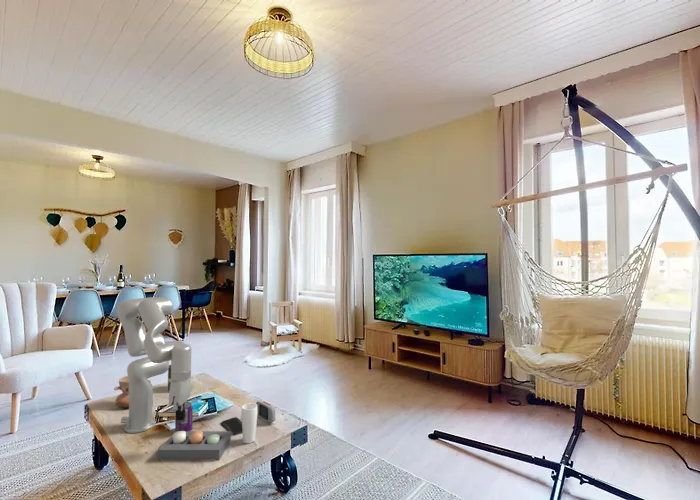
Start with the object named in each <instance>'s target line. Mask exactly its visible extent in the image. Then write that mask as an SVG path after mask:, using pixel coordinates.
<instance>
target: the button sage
mask: <svg viewBox="0 0 700 500" xmlns="http://www.w3.org/2000/svg"><path fill="white" fill-rule="evenodd" d="M219 440H220V436H219V435H218V434H213V435H210V436H208V437H207V444H218V443H219Z"/></svg>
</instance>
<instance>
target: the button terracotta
mask: <svg viewBox="0 0 700 500" xmlns="http://www.w3.org/2000/svg"><path fill="white" fill-rule="evenodd" d="M202 441H203V432H202V431H201V430H195V432H193V433H191V434H190V444H201V443H202Z"/></svg>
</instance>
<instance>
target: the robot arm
mask: <svg viewBox="0 0 700 500" xmlns="http://www.w3.org/2000/svg"><path fill="white" fill-rule="evenodd" d="M173 304H174V303H173V302H172V300H171V299H169V298H168V297H165V296H164V297H162V296H161V297H160V296H153V297H151V296H150V297H143V298H130V299H126V300H124V301H122V302H121V303H119V305H118V307H117V316H118V317H117V318H118V319H119V322H120V324H121V326H122V329H123V332H124V337H125V338H124V339H125V344H126V348H127V353H128V355H129V356H130V357H131V358H134V357H135V358H137V357H141V356H146V355H147V356H146V357H142V358H138V359H135V360H133V361H131V362H130V363H129V364H128V365H127V368H126V374H127V376H128V380H129V407H128V416H122V417H121V419H120V424H125V426H124V431H125V432H126V433H128V434H135V433H136V434H137V433H143V432H144V431H145V432H146V431H148V430H151V429H152V428H153V427H155V425H156V424H157V421H155V420H156V418H153V405H154V404H153V401H154V400H153V399H154V390H153V389H154V388H153V384H152V382H151V383H150V382H149V381H148V380H149V379H150V378H154V377H156V376H159V375H162V374H165V373H168V368H169V365H171V385H170V392H168V393H169V394H168V406H169V407H172V411H175V418H176V420H183V419H184V418H185V408H186V402H188V400H189V399H190V397H191V390H192V389H191V377H192V346H191V345H190V344H186V343H185V342H184V341H181V340H175V341H174V340H173V341H171V342H166V340H165V337H164V336H163V335H162V334H161V333H163V332H164V331H165V330H166V329H167V328H168V326H169V321H168V319H167V316H168V315H170V314H172V312H173V310H174V305H173ZM138 317H141V319H139V318H138ZM146 329H147V332H146ZM170 361H171V363H170ZM155 423H156V424H155Z"/></svg>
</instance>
